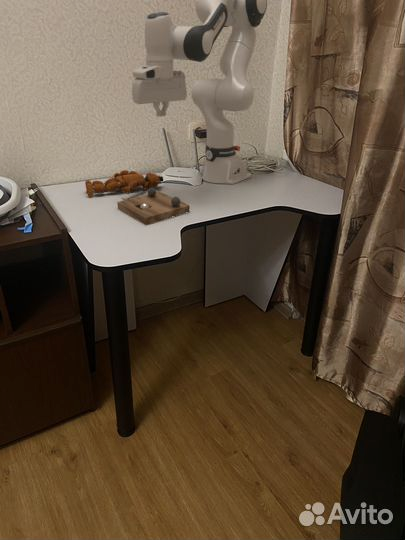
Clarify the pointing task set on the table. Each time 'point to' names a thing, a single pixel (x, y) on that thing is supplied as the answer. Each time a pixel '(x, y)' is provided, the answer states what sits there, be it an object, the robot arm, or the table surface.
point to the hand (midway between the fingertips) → (161, 116)
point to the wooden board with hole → (152, 208)
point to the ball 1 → (151, 191)
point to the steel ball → (144, 206)
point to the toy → (123, 182)
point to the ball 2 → (175, 201)
